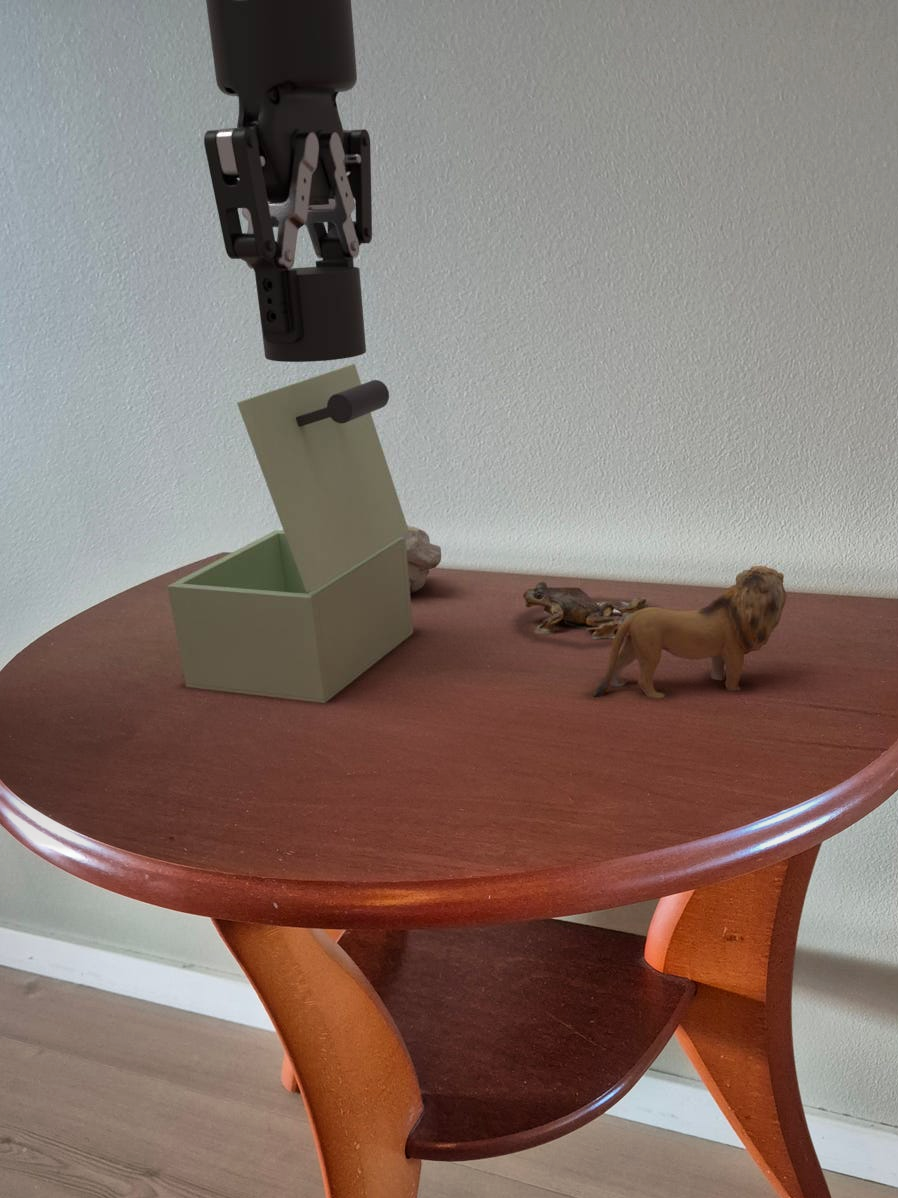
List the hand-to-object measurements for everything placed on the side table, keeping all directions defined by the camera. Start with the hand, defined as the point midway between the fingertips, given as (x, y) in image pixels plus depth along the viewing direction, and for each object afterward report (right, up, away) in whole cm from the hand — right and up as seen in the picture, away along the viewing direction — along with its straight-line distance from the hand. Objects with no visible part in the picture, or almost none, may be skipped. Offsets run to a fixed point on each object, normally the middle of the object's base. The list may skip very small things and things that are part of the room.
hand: (313, 333), depth 70 cm
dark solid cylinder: (0, -1, +1) cm, 1 cm away
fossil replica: (+1, -6, +45) cm, 45 cm away
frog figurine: (+19, -11, +33) cm, 40 cm away
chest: (-5, -15, +29) cm, 33 cm away
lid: (-2, -2, +20) cm, 20 cm away
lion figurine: (+26, -18, +20) cm, 38 cm away
